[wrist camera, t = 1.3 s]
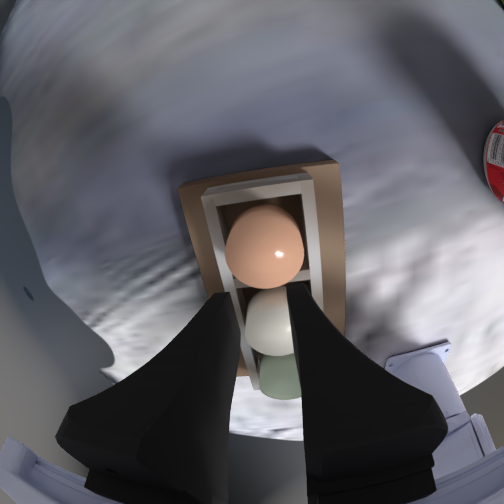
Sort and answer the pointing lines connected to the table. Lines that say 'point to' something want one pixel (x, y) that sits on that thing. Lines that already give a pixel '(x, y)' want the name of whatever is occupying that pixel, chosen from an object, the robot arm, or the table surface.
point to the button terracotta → (264, 247)
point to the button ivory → (269, 322)
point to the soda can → (495, 160)
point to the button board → (310, 226)
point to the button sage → (279, 377)
